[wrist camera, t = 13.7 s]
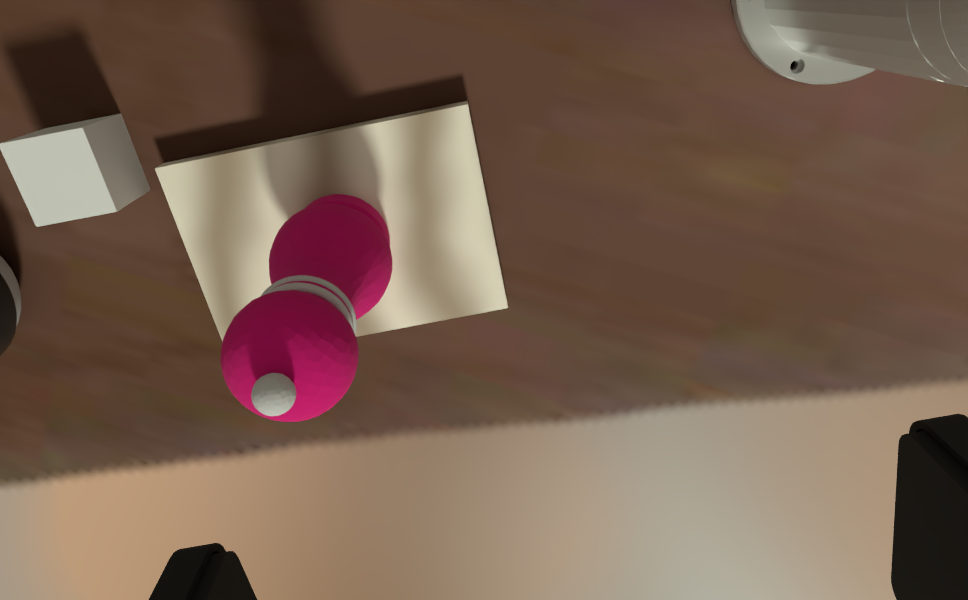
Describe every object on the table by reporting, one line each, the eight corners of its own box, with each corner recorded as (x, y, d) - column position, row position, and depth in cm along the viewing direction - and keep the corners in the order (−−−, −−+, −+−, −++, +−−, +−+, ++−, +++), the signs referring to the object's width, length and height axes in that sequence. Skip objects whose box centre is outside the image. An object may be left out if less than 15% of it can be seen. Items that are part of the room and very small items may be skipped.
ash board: (467, 100, 44) (467, 104, 43) (506, 299, 50) (507, 307, 49) (163, 162, 45) (154, 168, 44) (236, 350, 51) (230, 360, 50)
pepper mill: (265, 248, 46) (142, 420, 28) (327, 162, 44) (236, 289, 26) (356, 309, 48) (296, 506, 30) (419, 230, 46) (395, 392, 28)
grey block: (121, 113, 44) (82, 127, 40) (150, 189, 46) (117, 211, 42) (45, 128, 44) (-2, 144, 40) (78, 203, 46) (36, 226, 42)
